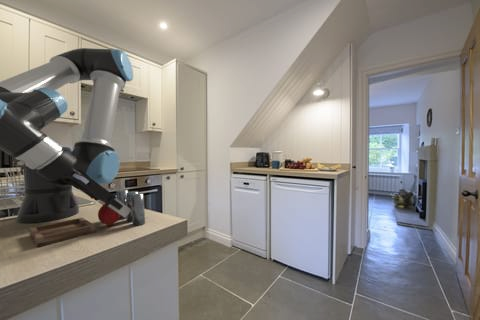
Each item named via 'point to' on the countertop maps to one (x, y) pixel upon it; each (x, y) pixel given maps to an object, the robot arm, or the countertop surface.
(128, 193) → the spacer mid
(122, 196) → the spacer left
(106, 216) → the onion
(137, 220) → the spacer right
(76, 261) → the countertop surface
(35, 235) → the tray
